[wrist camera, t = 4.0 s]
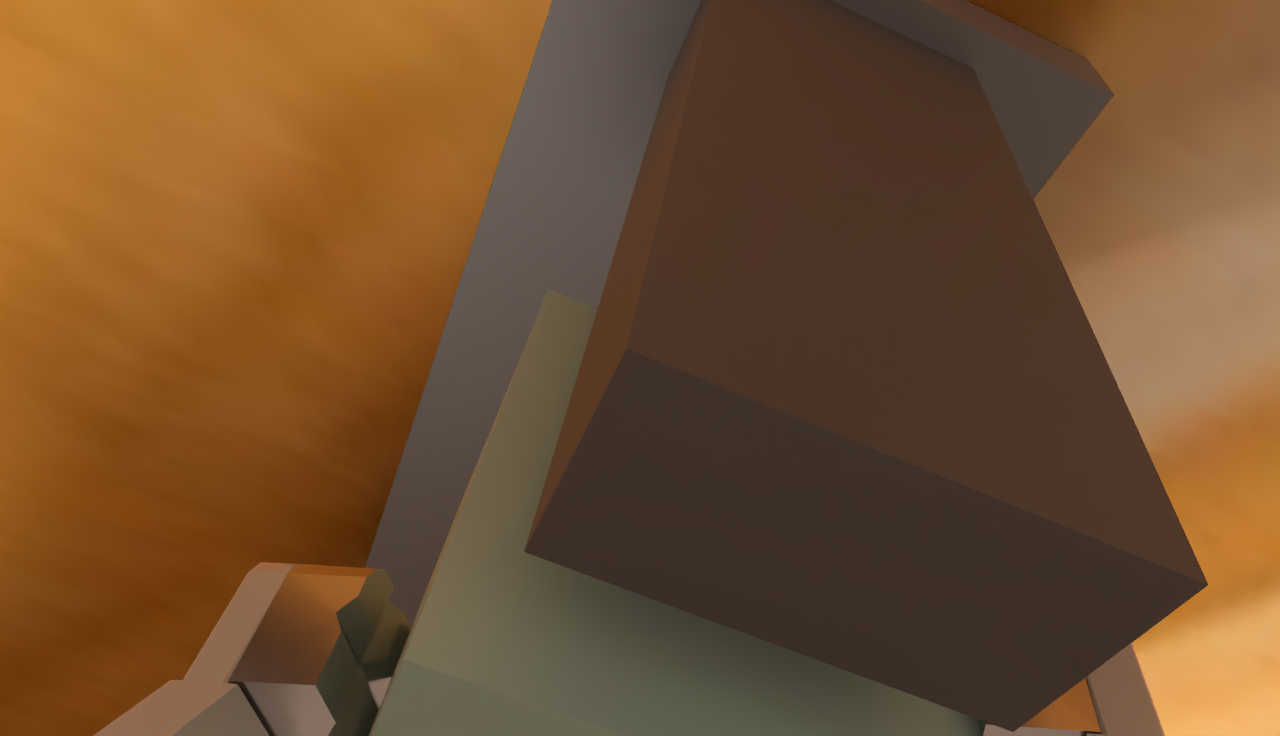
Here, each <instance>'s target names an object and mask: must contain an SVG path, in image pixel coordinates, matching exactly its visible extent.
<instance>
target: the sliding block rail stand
mask: <svg viewBox="0 0 1280 736" xmlns="http://www.w3.org/2000/svg"><path fill="white" fill-rule="evenodd" d="M1113 95H1114V94H1113V92H1112V91H1111V90H1110V88H1109V87H1108V86H1107V84H1106V83H1105V82H1104V81H1103V79H1102V78H1101V77H1100V75H1099V74H1098V73H1097V71H1096V70H1095V69H1094V67H1093V66H1092V65H1091V63H1090V62H1089V61H1088V60H1087V59H1085V58H1083V57H1081V56H1079V55H1077V54H1075V53H1073V52H1071V51H1069V50H1067V49H1065V48H1063V47H1061V46H1059V45H1057V44H1055V43H1052V42H1050V41H1048V40H1046V39H1044V38H1042V37H1040V36H1038V35H1036V34H1034V33H1032V32H1030V31H1028V30H1026V29H1024V28H1022V27H1020V26H1018V25H1015V24H1013V23H1011V22H1009V21H1007V20H1005V19H1003V18H1001V17H999V16H997V15H995V14H993V13H991V12H989V11H987V10H985V9H983V8H981V7H978V6H976V5H974V4H972V3H970V2H968V1H966V0H553V1H552V4H551V7H550V10H549V13H548V16H547V19H546V22H545V25H544V28H543V31H542V34H541V37H540V40H539V43H538V46H537V49H536V52H535V55H534V59H533V62H532V65H531V68H530V71H529V74H528V77H527V80H526V83H525V86H524V89H523V92H522V95H521V98H520V101H519V104H518V107H517V110H516V113H515V116H514V119H513V122H512V125H511V128H510V131H509V134H508V137H507V140H506V143H505V146H504V149H503V152H502V155H501V158H500V161H499V164H498V167H497V170H496V173H495V176H494V179H493V182H492V185H491V188H490V191H489V194H488V197H487V200H486V203H485V206H484V209H483V212H482V216H481V219H480V222H479V225H478V228H477V231H476V234H475V237H474V240H473V243H472V246H471V249H470V252H469V255H468V258H467V261H466V264H465V267H464V270H463V273H462V276H461V279H460V282H459V285H458V288H457V291H456V294H455V297H454V300H453V303H452V306H451V309H450V312H449V315H448V318H447V321H446V324H445V327H444V330H443V333H442V336H441V339H440V342H439V345H438V348H437V351H436V354H435V357H434V360H433V363H432V366H431V369H430V373H429V376H428V379H427V382H426V385H425V388H424V391H423V394H422V397H421V400H420V403H419V406H418V409H417V412H416V415H415V418H414V421H413V424H412V427H411V430H410V433H409V436H408V439H407V442H406V445H405V448H404V451H403V454H402V457H401V460H400V463H399V466H398V469H397V472H396V475H395V478H394V481H393V484H392V487H391V490H390V493H389V496H388V499H387V502H386V505H385V508H384V511H383V514H382V517H381V520H380V523H379V526H378V530H377V533H376V536H375V539H374V542H373V545H372V548H371V551H370V554H369V557H368V560H367V563H366V566H365V568H374V569H385V570H386V571H387V574H388V576H389V578H390V580H391V582H392V584H393V586H394V590H393V592H392V595H391V597H390V599H389V602H391V603H392V604H393V605H395V606H396V607H397V608H399V609H400V610H401V611H403V612H404V614H405V616H406V619H407V622H408V624H409V628H410V630H411V627H412V625H413V622H414V620H415V617H416V614H417V612H418V609H419V607H420V604H421V602H422V599H423V597H424V594H425V592H426V589H427V587H428V584H429V582H430V579H431V577H432V574H433V572H434V569H435V567H436V564H437V562H438V559H439V556H440V554H441V551H442V549H443V546H444V544H445V541H446V539H447V536H448V534H449V531H450V529H451V526H452V524H453V521H454V519H455V516H456V514H457V511H458V509H459V506H460V504H461V501H462V499H463V496H464V494H465V491H466V489H467V486H468V484H469V482H470V479H471V477H472V474H473V472H474V469H475V467H476V465H477V462H478V460H479V457H480V455H481V452H482V450H483V447H484V445H485V443H486V440H487V438H488V435H489V433H490V430H491V428H492V426H493V423H494V421H495V418H496V416H497V413H498V411H499V409H500V406H501V404H502V401H503V399H504V396H505V394H506V391H507V389H508V387H509V384H510V382H511V379H512V377H513V374H514V372H515V370H516V367H517V365H518V362H519V360H520V357H521V355H522V352H523V350H524V348H525V345H526V343H527V340H528V338H529V335H530V333H531V331H532V328H533V326H534V323H535V321H536V318H537V316H538V314H539V311H540V309H541V306H542V304H543V301H544V299H545V296H546V294H547V292H548V289H551V290H553V291H556V292H558V293H561V294H563V295H566V296H568V297H570V298H573V299H575V300H578V301H580V302H583V303H585V304H587V305H590V306H592V307H595V308H597V313H596V316H595V319H594V323H593V326H592V329H591V332H590V336H589V339H588V342H587V346H586V349H585V352H584V356H583V359H582V362H581V365H580V369H579V372H578V375H577V379H576V382H575V385H574V389H573V392H572V395H571V398H570V402H569V405H568V408H567V412H566V415H565V418H564V422H563V425H562V428H561V431H560V435H559V438H558V441H557V445H556V448H555V451H554V455H553V458H552V461H551V464H550V468H549V471H548V474H547V478H546V481H545V484H544V488H543V491H542V494H541V497H540V501H539V504H538V507H537V511H536V514H535V517H534V521H533V524H532V527H531V530H530V534H529V537H528V540H527V544H526V547H525V550H524V552H526V553H528V554H531V555H534V556H537V557H539V558H542V559H545V560H547V561H550V562H553V563H556V564H558V565H561V566H564V567H566V568H569V569H572V570H575V571H577V572H580V573H583V574H585V575H588V576H591V577H594V578H596V579H599V580H602V581H604V582H607V583H610V584H613V585H615V586H618V587H621V588H623V589H626V590H629V591H632V592H634V593H637V594H640V595H642V596H645V597H648V598H651V599H653V600H656V601H659V602H661V603H664V604H667V605H670V606H672V607H675V608H678V609H680V610H683V611H686V612H689V613H691V614H694V615H697V616H699V617H702V618H705V619H708V620H710V621H713V622H716V623H718V624H721V625H724V626H727V627H729V628H732V629H735V630H737V631H740V632H743V633H746V634H748V635H751V636H754V637H756V638H759V639H762V640H765V641H767V642H770V643H773V644H775V645H778V646H781V647H784V648H786V649H789V650H792V651H794V652H797V653H800V654H803V655H805V656H808V657H811V658H813V659H816V660H819V661H822V662H824V663H827V664H830V665H832V666H835V667H838V668H841V669H843V670H846V671H849V672H851V673H854V674H857V675H860V676H862V677H865V678H868V679H870V680H873V681H876V682H879V683H881V684H884V685H887V686H889V687H892V688H895V689H898V690H900V691H903V692H906V693H908V694H911V695H914V696H917V697H919V698H922V699H925V700H927V701H930V702H933V703H935V704H938V705H941V706H944V707H946V708H949V709H952V710H954V711H957V712H960V713H963V714H965V715H968V716H971V717H973V718H976V719H979V720H982V721H984V722H987V723H990V724H992V725H995V726H998V727H1001V728H1003V729H1006V730H1009V731H1011V732H1014V731H1015V730H1017V729H1018V728H1019V727H1021V726H1022V725H1023V724H1025V723H1026V722H1027V721H1029V720H1030V719H1031V718H1033V717H1034V716H1035V715H1037V714H1038V713H1039V712H1041V711H1042V710H1043V709H1045V708H1046V707H1047V706H1049V705H1050V704H1051V703H1052V702H1054V701H1055V700H1056V699H1058V698H1059V697H1060V696H1062V695H1063V694H1064V693H1066V692H1067V691H1068V690H1070V689H1071V688H1072V687H1074V686H1075V685H1076V684H1078V683H1079V682H1080V681H1082V680H1083V679H1084V678H1086V677H1087V676H1088V675H1090V674H1091V673H1092V672H1093V671H1095V670H1096V669H1097V668H1099V667H1100V666H1101V665H1103V664H1104V663H1105V662H1107V661H1108V660H1109V659H1111V658H1112V657H1113V656H1115V655H1116V654H1117V653H1119V652H1120V651H1121V650H1123V649H1124V648H1125V647H1127V646H1128V645H1129V644H1131V643H1132V642H1133V641H1134V640H1136V639H1137V638H1138V637H1140V636H1141V635H1142V634H1144V633H1145V632H1146V631H1148V630H1149V629H1150V628H1152V627H1153V626H1154V625H1156V624H1157V623H1158V622H1160V621H1161V620H1162V619H1164V618H1165V617H1166V616H1168V615H1169V614H1170V613H1172V612H1173V611H1174V610H1175V609H1177V608H1178V607H1179V606H1181V605H1182V604H1183V603H1185V602H1186V601H1187V600H1189V599H1190V598H1191V597H1193V596H1194V595H1195V594H1197V593H1198V592H1199V591H1201V590H1202V589H1203V588H1205V587H1206V586H1207V585H1208V583H1207V581H1206V579H1205V577H1204V574H1203V572H1202V570H1201V568H1200V566H1199V563H1198V561H1197V559H1196V557H1195V555H1194V552H1193V550H1192V548H1191V546H1190V544H1189V541H1188V539H1187V537H1186V535H1185V533H1184V530H1183V528H1182V526H1181V524H1180V522H1179V519H1178V517H1177V515H1176V513H1175V511H1174V508H1173V506H1172V504H1171V502H1170V500H1169V497H1168V495H1167V493H1166V491H1165V489H1164V486H1163V484H1162V482H1161V480H1160V478H1159V475H1158V473H1157V471H1156V469H1155V467H1154V464H1153V462H1152V460H1151V458H1150V456H1149V453H1148V451H1147V449H1146V447H1145V445H1144V442H1143V440H1142V438H1141V436H1140V434H1139V431H1138V429H1137V427H1136V425H1135V423H1134V420H1133V418H1132V416H1131V414H1130V412H1129V410H1128V407H1127V405H1126V403H1125V401H1124V399H1123V396H1122V394H1121V392H1120V390H1119V388H1118V385H1117V383H1116V381H1115V379H1114V377H1113V374H1112V372H1111V370H1110V368H1109V366H1108V363H1107V361H1106V359H1105V357H1104V355H1103V352H1102V350H1101V348H1100V346H1099V344H1098V341H1097V339H1096V337H1095V335H1094V333H1093V330H1092V328H1091V326H1090V324H1089V322H1088V319H1087V317H1086V315H1085V313H1084V311H1083V308H1082V306H1081V304H1080V302H1079V300H1078V297H1077V295H1076V293H1075V291H1074V289H1073V286H1072V284H1071V282H1070V280H1069V278H1068V275H1067V273H1066V271H1065V269H1064V267H1063V264H1062V262H1061V260H1060V258H1059V256H1058V253H1057V251H1056V249H1055V247H1054V245H1053V242H1052V240H1051V238H1050V236H1049V234H1048V231H1047V229H1046V227H1045V225H1044V223H1043V220H1042V218H1041V216H1040V214H1039V212H1038V210H1037V207H1036V205H1035V203H1034V201H1033V199H1034V198H1035V196H1036V195H1037V194H1038V193H1039V191H1040V190H1041V189H1042V187H1043V186H1044V185H1045V183H1046V182H1047V181H1048V180H1049V178H1050V177H1051V176H1052V174H1053V173H1054V172H1055V170H1056V169H1057V168H1058V167H1059V165H1060V164H1061V163H1062V161H1063V160H1064V159H1065V157H1066V156H1067V155H1068V154H1069V152H1070V151H1071V150H1072V148H1073V147H1074V146H1075V145H1076V143H1077V142H1078V141H1079V139H1080V138H1081V137H1082V135H1083V134H1084V133H1085V132H1086V130H1087V129H1088V128H1089V126H1090V125H1091V124H1092V122H1093V121H1094V120H1095V119H1096V117H1097V116H1098V115H1099V113H1100V112H1101V111H1102V110H1103V108H1104V107H1105V106H1106V104H1107V103H1108V102H1109V100H1110V99H1111V98H1112V97H1113Z"/></svg>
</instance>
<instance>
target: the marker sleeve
mask: <svg viewBox="0 0 1280 736" xmlns="http://www.w3.org/2000/svg"><path fill="white" fill-rule="evenodd" d="M596 313H597V308H595V307H592V306H590V305H587V304H585V303H583V302H580V301H578V300H575V299H573V298H570V297H568V296H566V295H563V294H561V293H558V292H556V291H553V290H551V289H548V292H547V294H546V296H545V299H544V301H543V304H542V306H541V309H540V311H539V314H538V316H537V318H536V321H535V323H534V326H533V328H532V331H531V333H530V335H529V338H528V340H527V343H526V345H525V348H524V350H523V352H522V355H521V357H520V360H519V362H518V365H517V367H516V370H515V372H514V374H513V377H512V379H511V382H510V384H509V387H508V389H507V391H506V394H505V396H504V399H503V401H502V404H501V406H500V409H499V411H498V413H497V416H496V418H495V421H494V423H493V426H492V428H491V430H490V433H489V435H488V438H487V440H486V443H485V445H484V447H483V450H482V452H481V455H480V457H479V460H478V462H477V465H476V467H475V469H474V472H473V474H472V477H471V479H470V482H469V484H468V486H467V489H466V491H465V494H464V496H463V499H462V501H461V504H460V506H459V509H458V511H457V514H456V516H455V519H454V521H453V524H452V526H451V529H450V531H449V534H448V536H447V539H446V541H445V544H444V546H443V549H442V551H441V554H440V556H439V559H438V562H437V564H436V567H435V569H434V572H433V574H432V577H431V579H430V582H429V584H428V587H427V589H426V592H425V594H424V597H423V599H422V602H421V604H420V607H419V609H418V612H417V614H416V617H415V620H414V622H413V625H412V627H411V630H410V632H409V635H408V637H407V640H406V642H405V645H404V647H403V650H402V652H401V655H400V657H399V660H398V662H397V665H396V667H395V670H394V673H393V675H392V677H391V680H390V683H389V685H388V688H387V690H386V693H385V695H384V698H383V700H382V703H381V705H380V708H379V710H378V713H377V715H376V718H375V720H374V723H373V725H372V728H371V730H370V733H369V736H981V732H980V727H979V721H978V719H976V718H973V717H971V716H968V715H965V714H963V713H960V712H957V711H954V710H952V709H949V708H946V707H944V706H941V705H938V704H935V703H933V702H930V701H927V700H925V699H922V698H919V697H917V696H914V695H911V694H908V693H906V692H903V691H900V690H898V689H895V688H892V687H889V686H887V685H884V684H881V683H879V682H876V681H873V680H870V679H868V678H865V677H862V676H860V675H857V674H854V673H851V672H849V671H846V670H843V669H841V668H838V667H835V666H832V665H830V664H827V663H824V662H822V661H819V660H816V659H813V658H811V657H808V656H805V655H803V654H800V653H797V652H794V651H792V650H789V649H786V648H784V647H781V646H778V645H775V644H773V643H770V642H767V641H765V640H762V639H759V638H756V637H754V636H751V635H748V634H746V633H743V632H740V631H737V630H735V629H732V628H729V627H727V626H724V625H721V624H718V623H716V622H713V621H710V620H708V619H705V618H702V617H699V616H697V615H694V614H691V613H689V612H686V611H683V610H680V609H678V608H675V607H672V606H670V605H667V604H664V603H661V602H659V601H656V600H653V599H651V598H648V597H645V596H642V595H640V594H637V593H634V592H632V591H629V590H626V589H623V588H621V587H618V586H615V585H613V584H610V583H607V582H604V581H602V580H599V579H596V578H594V577H591V576H588V575H585V574H583V573H580V572H577V571H575V570H572V569H569V568H566V567H564V566H561V565H558V564H556V563H553V562H550V561H547V560H545V559H542V558H539V557H537V556H534V555H531V554H528V553H526V552H524V550H525V547H526V544H527V540H528V537H529V534H530V530H531V527H532V524H533V521H534V517H535V514H536V511H537V507H538V504H539V501H540V497H541V494H542V491H543V488H544V484H545V481H546V478H547V474H548V471H549V468H550V464H551V461H552V458H553V455H554V451H555V448H556V445H557V441H558V438H559V435H560V431H561V428H562V425H563V422H564V418H565V415H566V412H567V408H568V405H569V402H570V398H571V395H572V392H573V389H574V385H575V382H576V379H577V375H578V372H579V369H580V365H581V362H582V359H583V356H584V352H585V349H586V346H587V342H588V339H589V336H590V332H591V329H592V326H593V323H594V319H595V316H596Z"/></svg>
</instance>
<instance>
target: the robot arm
mask: <svg viewBox="0 0 1280 736" xmlns="http://www.w3.org/2000/svg"><path fill="white" fill-rule="evenodd" d="M393 590H394V586H393V584H392V582H391V580H390V578H389V576H388V574H387V571H386V570H385V569H374V568H358V567H342V566H326V565H310V564H290V563H269V562H260V563H259V564H258V565H257V566H255V567H254V568H253V569H251V570H250V571H249V572H248V573H247V574H246V576H245V578H244V579H243V581H242V583H241V584H240V586H239V588H238V589H237V591H236V592H235V594H234V596H233V597H232V599H231V601H230V602H229V604H228V606H227V607H226V609H225V611H224V612H223V614H222V616H221V617H220V619H219V620H218V622H217V624H216V625H215V627H214V629H213V630H212V632H211V634H210V635H209V637H208V639H207V640H206V642H205V643H204V645H203V647H202V648H201V650H200V652H199V653H198V655H197V657H196V658H195V660H194V662H193V663H192V665H191V666H190V668H189V670H188V671H187V673H186V675H185V676H184V678H183V680H170V681H168V682H167V683H165V684H164V685H163V686H161V687H160V688H158V689H157V690H156V691H154V692H153V693H151V694H150V695H149V696H147V697H146V698H145V699H143V700H142V701H140V702H139V703H138V704H136V705H135V706H133V707H132V708H131V709H129V710H128V711H127V712H125V713H124V714H122V715H121V716H120V717H118V718H117V719H115V720H114V721H113V722H111V723H110V724H108V725H107V726H106V727H104V728H103V729H102V730H100V731H99V732H97V733H96V734H95V735H93V736H369V733H370V730H371V728H372V725H373V723H374V720H375V718H376V715H377V713H378V710H379V708H380V705H381V703H382V700H383V698H384V695H385V693H386V690H387V688H388V685H389V683H390V680H391V677H392V675H393V673H394V670H395V667H396V665H397V662H398V660H399V657H400V655H401V652H402V650H403V647H404V645H405V642H406V640H407V637H408V635H409V632H410V628H409V624H408V622H407V619H406V616H405V614H404V612H403V611H401V610H400V609H399V608H397V607H396V606H395V605H393V604H392V603H391V602H389V599H390V597H391V595H392V592H393ZM978 721H979V727H980V732H981V736H1165V734H1164V732H1163V729H1162V726H1161V723H1160V720H1159V718H1158V715H1157V712H1156V709H1155V706H1154V704H1153V701H1152V698H1151V695H1150V692H1149V690H1148V687H1147V684H1146V681H1145V678H1144V676H1143V673H1142V670H1141V667H1140V664H1139V662H1138V659H1137V656H1136V653H1135V650H1134V648H1133V645H1132V643H1131V644H1129V645H1128V646H1127V647H1125V648H1124V649H1123V650H1121V651H1120V652H1119V653H1117V654H1116V655H1115V656H1113V657H1112V658H1111V659H1109V660H1108V661H1107V662H1105V663H1104V664H1103V665H1101V666H1100V667H1099V668H1097V669H1096V670H1095V671H1093V672H1092V673H1091V674H1090V675H1088V676H1087V677H1086V678H1084V679H1083V680H1082V681H1080V682H1079V683H1078V684H1076V685H1075V686H1074V687H1072V688H1071V689H1070V690H1068V691H1067V692H1066V693H1064V694H1063V695H1062V696H1060V697H1059V698H1058V699H1056V700H1055V701H1054V702H1052V703H1051V704H1050V705H1049V706H1047V707H1046V708H1045V709H1043V710H1042V711H1041V712H1039V713H1038V714H1037V715H1035V716H1034V717H1033V718H1031V719H1030V720H1029V721H1027V722H1026V723H1025V724H1023V725H1022V726H1021V727H1019V728H1018V729H1017V730H1015V731H1014V732H1011V731H1009V730H1006V729H1003V728H1001V727H998V726H995V725H992V724H990V723H987V722H984V721H982V720H979V719H978Z"/></svg>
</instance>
